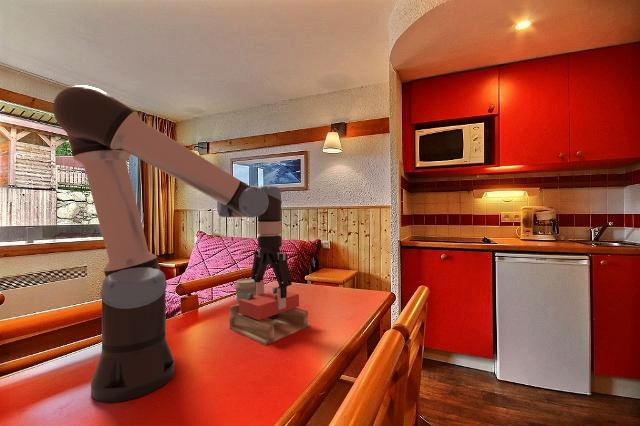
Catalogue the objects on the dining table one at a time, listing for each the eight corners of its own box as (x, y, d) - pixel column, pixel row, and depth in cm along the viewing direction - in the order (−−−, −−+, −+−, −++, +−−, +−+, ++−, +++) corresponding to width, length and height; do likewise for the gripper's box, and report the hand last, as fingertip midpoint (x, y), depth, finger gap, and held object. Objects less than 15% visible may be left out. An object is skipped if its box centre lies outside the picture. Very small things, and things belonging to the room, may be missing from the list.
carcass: (265, 345, 79) (265, 304, 79) (229, 328, 91) (229, 293, 91) (310, 325, 93) (310, 291, 93) (274, 313, 104) (273, 283, 104)
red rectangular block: (259, 319, 82) (258, 302, 82) (239, 312, 89) (239, 296, 89) (299, 306, 94) (298, 290, 94) (278, 300, 101) (278, 286, 101)
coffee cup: (261, 309, 109) (261, 278, 109) (254, 317, 100) (254, 283, 101) (240, 309, 110) (239, 277, 110) (231, 317, 101) (230, 282, 101)
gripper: (303, 235, 87) (304, 309, 87) (257, 233, 102) (258, 296, 102) (284, 237, 82) (285, 315, 82) (239, 234, 97) (240, 300, 96)
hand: (270, 304), depth 92 cm, fingers closed on red rectangular block, 10 cm apart
